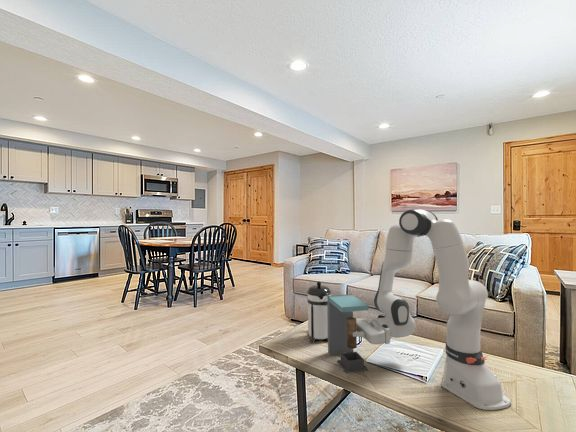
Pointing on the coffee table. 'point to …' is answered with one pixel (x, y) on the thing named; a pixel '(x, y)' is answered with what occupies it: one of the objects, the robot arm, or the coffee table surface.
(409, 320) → the robot arm
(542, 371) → the coffee table surface
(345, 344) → the teal capped pillar
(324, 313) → the coffee press
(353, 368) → the socket
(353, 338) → the peg
